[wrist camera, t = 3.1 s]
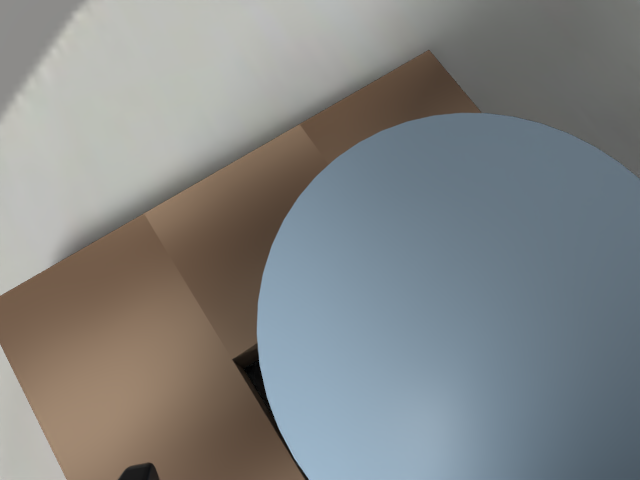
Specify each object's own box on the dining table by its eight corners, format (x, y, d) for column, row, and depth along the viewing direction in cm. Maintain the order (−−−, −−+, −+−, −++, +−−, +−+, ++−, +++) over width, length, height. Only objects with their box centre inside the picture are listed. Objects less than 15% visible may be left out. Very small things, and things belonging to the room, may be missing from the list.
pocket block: (710, 467, 18) (785, 476, 15) (286, 824, 15) (280, 915, 12) (413, 98, 22) (429, 49, 19) (30, 323, 19) (-19, 306, 16)
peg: (455, 414, 19) (830, 388, 5) (343, 495, 18) (448, 711, 4) (377, 302, 20) (522, 45, 6) (268, 374, 19) (170, 254, 5)
